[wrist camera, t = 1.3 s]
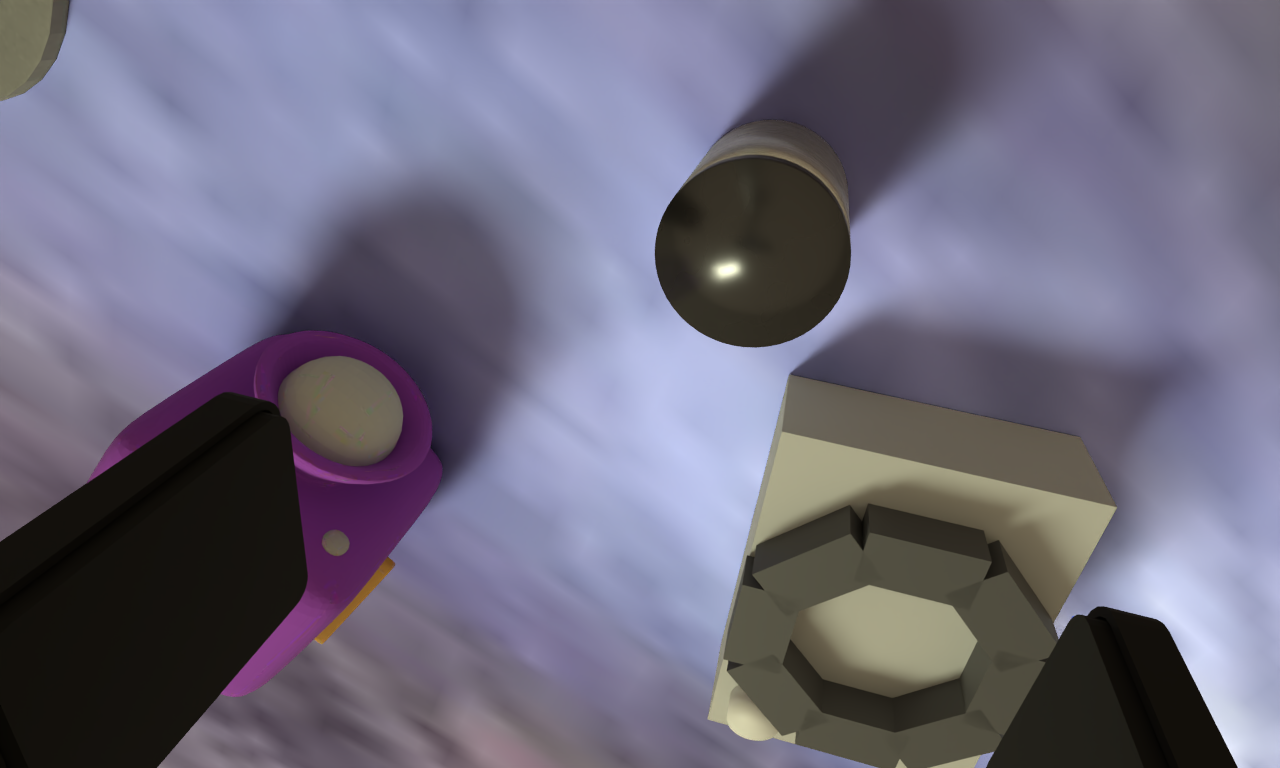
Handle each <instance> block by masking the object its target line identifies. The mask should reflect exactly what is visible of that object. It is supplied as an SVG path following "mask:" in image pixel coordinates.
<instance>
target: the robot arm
mask: <svg viewBox="0 0 1280 768" xmlns="http://www.w3.org/2000/svg"><path fill="white" fill-rule="evenodd" d="M307 581H308V571H307V563H306V555H305V546H304V538H303V530H302V522H301V514H300V505H299V497H298V489H297V481H296V473H295V464H294V456H293V448H292V440H291V432H290V426H289V422H288V421H287V420H286V418H284V417H282V416H281V415H280V411H279V409H278V407H277V406H276V405H275V404H274V403H272V402H270V401H266V400H262V399H258V398H254V397H250V396H246V395H242V394H238V393H234V392H223V393H221V394H219V395H217V396H215V397H214V398H212V399H211V400H209V401H208V402H206V403H205V404H203V405H202V406H200V407H199V408H197V409H196V410H194V411H193V412H191V413H190V414H188V415H187V416H186V417H184V418H183V419H181V420H180V421H178V422H177V423H175V424H174V425H172V426H171V427H169V428H168V429H166V430H165V431H163V432H162V433H160V434H159V435H157V436H156V437H154V438H153V439H152V440H150V441H149V442H147V443H146V444H144V445H143V446H141V447H140V448H138V449H137V450H135V451H134V452H132V453H131V454H129V455H128V456H126V457H125V458H123V459H122V460H120V461H119V462H117V463H116V464H115V465H113V466H112V467H110V468H109V469H107V470H106V471H104V472H103V473H101V474H100V475H98V476H97V477H95V478H94V479H92V480H91V481H89V482H88V483H86V484H85V485H83V486H82V487H81V488H79V489H78V490H76V491H75V492H73V493H72V494H70V495H69V496H67V497H66V498H64V499H63V500H61V501H60V502H58V503H57V504H55V505H54V506H52V507H51V508H49V509H48V510H47V511H45V512H44V513H42V514H41V515H39V516H38V517H36V518H35V519H33V520H32V521H30V522H29V523H27V524H26V525H24V526H23V527H21V528H20V529H18V530H17V531H15V532H14V533H12V534H11V535H10V536H8V537H7V538H5V539H4V540H2V541H1V542H0V768H157V767H158V766H159V765H160V764H161V762H162V761H163V760H164V759H165V758H166V757H167V755H168V754H169V753H170V752H171V751H172V750H173V748H174V747H175V746H176V745H177V744H178V743H179V741H180V740H181V739H182V738H183V737H184V736H185V734H186V733H187V732H188V731H189V730H190V729H191V727H192V726H193V725H194V724H195V723H196V722H197V721H198V719H199V718H200V717H201V716H202V715H203V714H204V712H205V711H206V710H207V709H208V708H209V707H210V705H211V704H212V703H213V702H214V701H215V700H216V698H217V697H218V696H219V695H220V694H221V693H222V691H223V690H224V689H225V688H226V687H227V686H228V684H229V683H230V682H231V681H232V680H233V679H234V677H235V676H236V675H237V674H238V673H239V672H240V670H241V669H242V668H243V667H244V666H245V665H246V664H247V662H248V661H249V660H250V659H251V658H252V657H253V655H254V654H255V653H256V652H257V651H258V650H259V648H260V647H261V646H262V645H263V644H264V643H265V641H266V640H267V639H268V638H269V637H270V636H271V634H272V633H273V632H274V631H275V630H276V629H277V627H278V626H279V625H280V624H281V623H282V622H283V620H284V619H285V618H286V617H287V616H288V615H289V614H290V612H291V611H292V610H293V609H294V608H295V607H296V605H297V604H298V603H299V601H300V600H301V598H302V596H303V594H304V592H305V589H306V586H307ZM986 768H1238V767H1237V765H1236V763H1235V761H1234V759H1233V757H1232V755H1231V753H1230V751H1229V749H1228V747H1227V745H1226V743H1225V741H1224V739H1223V737H1222V735H1221V733H1220V731H1219V729H1218V728H1217V726H1216V724H1215V722H1214V720H1213V718H1212V716H1211V714H1210V712H1209V710H1208V708H1207V706H1206V704H1205V702H1204V700H1203V698H1202V696H1201V694H1200V692H1199V690H1198V688H1197V686H1196V684H1195V682H1194V680H1193V678H1192V676H1191V674H1190V672H1189V670H1188V668H1187V666H1186V664H1185V662H1184V660H1183V658H1182V656H1181V654H1180V652H1179V650H1178V648H1177V646H1176V644H1175V642H1174V640H1173V638H1172V636H1171V634H1170V632H1169V631H1168V629H1167V628H1166V626H1165V625H1164V624H1163V623H1162V622H1160V621H1159V620H1157V619H1153V618H1149V617H1145V616H1141V615H1137V614H1133V613H1128V612H1124V611H1120V610H1116V609H1112V608H1108V607H1096V608H1095V609H1093V610H1092V611H1091V612H1090V613H1089V614H1088V616H1084V615H1076V616H1074V617H1072V619H1071V620H1070V621H1069V623H1068V624H1067V626H1066V628H1065V630H1064V631H1063V633H1062V635H1061V637H1060V638H1059V640H1058V642H1057V644H1056V645H1055V647H1054V649H1053V651H1052V652H1051V654H1050V656H1049V658H1048V659H1047V661H1046V663H1045V665H1044V666H1043V668H1042V670H1041V672H1040V673H1039V675H1038V677H1037V679H1036V680H1035V682H1034V684H1033V686H1032V687H1031V689H1030V691H1029V692H1028V694H1027V696H1026V698H1025V699H1024V701H1023V703H1022V705H1021V706H1020V708H1019V710H1018V712H1017V713H1016V715H1015V717H1014V719H1013V720H1012V722H1011V724H1010V726H1009V727H1008V729H1007V731H1006V733H1005V734H1004V736H1003V738H1002V740H1001V741H1000V743H999V745H998V747H997V748H996V750H995V752H994V754H993V755H992V757H991V759H990V761H989V762H988V765H987V767H986Z"/></svg>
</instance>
